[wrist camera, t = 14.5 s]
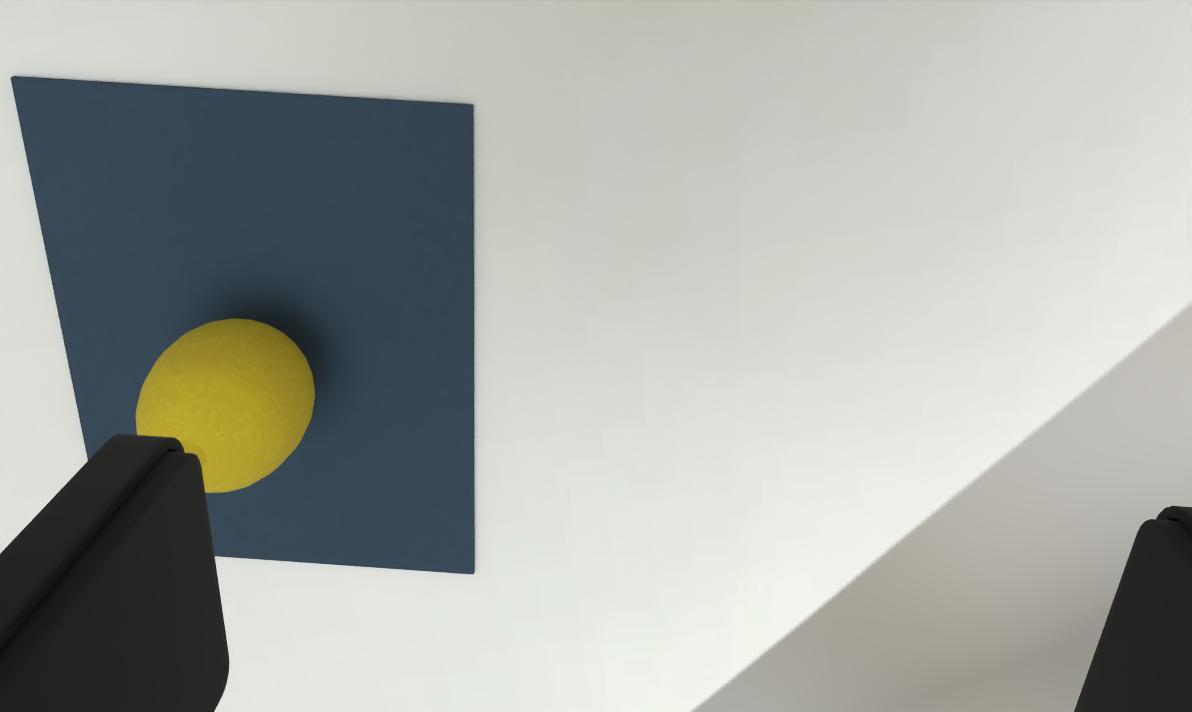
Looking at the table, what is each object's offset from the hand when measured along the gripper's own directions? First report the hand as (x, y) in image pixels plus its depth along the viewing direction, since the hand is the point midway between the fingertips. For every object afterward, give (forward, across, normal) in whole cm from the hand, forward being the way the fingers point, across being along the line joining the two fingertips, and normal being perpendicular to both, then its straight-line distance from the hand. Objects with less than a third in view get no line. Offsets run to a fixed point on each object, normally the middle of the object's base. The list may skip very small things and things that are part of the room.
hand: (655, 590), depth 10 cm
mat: (+26, +14, +11) cm, 32 cm away
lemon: (+26, +14, +11) cm, 32 cm away
